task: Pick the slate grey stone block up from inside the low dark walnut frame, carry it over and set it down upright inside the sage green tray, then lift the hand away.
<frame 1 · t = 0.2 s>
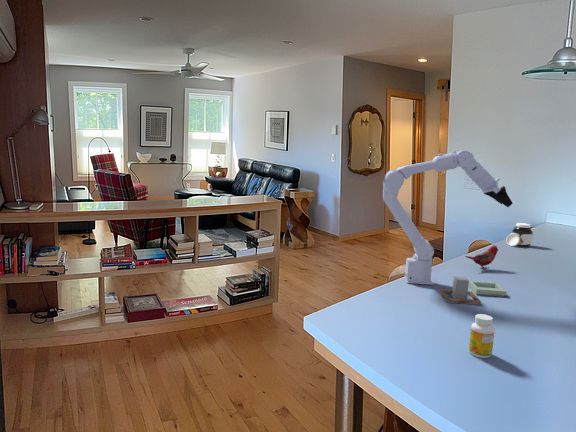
hand: (506, 203, 171), 31 cm above the table, tool tilted 45°, fingers open, 7 cm apart
sage tray: (486, 291, 170), on the table
decorative bird figurine: (480, 269, 200), on the table
spread jar: (518, 246, 252), on the table
stone block: (460, 288, 161), in the walnut frame
supplement bottle: (479, 354, 119), on the table
walnut frame: (459, 298, 161), on the table
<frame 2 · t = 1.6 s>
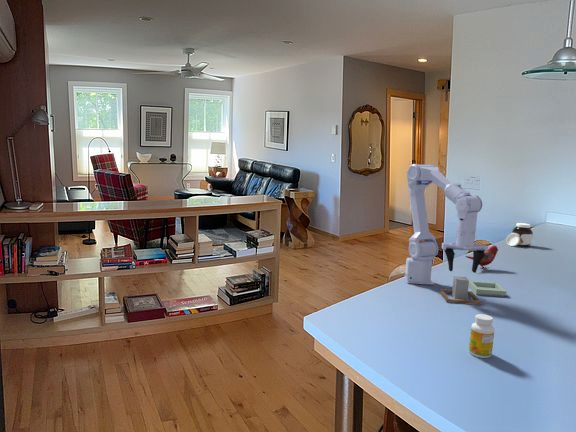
hand: (462, 271, 160), 9 cm above the table, tool pointing down, fingers open, 7 cm apart
nothing on the table moved.
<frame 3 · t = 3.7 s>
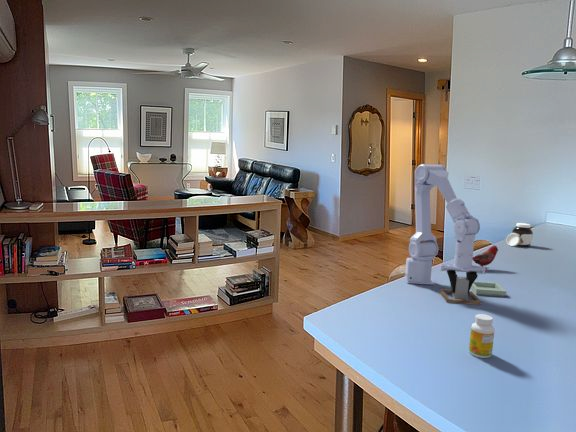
hand: (459, 292, 161), 2 cm above the table, tool pointing down, fingers closed on stone block, 4 cm apart
stone block: (460, 288, 161), in the walnut frame, touching gripper
everything else where it was.
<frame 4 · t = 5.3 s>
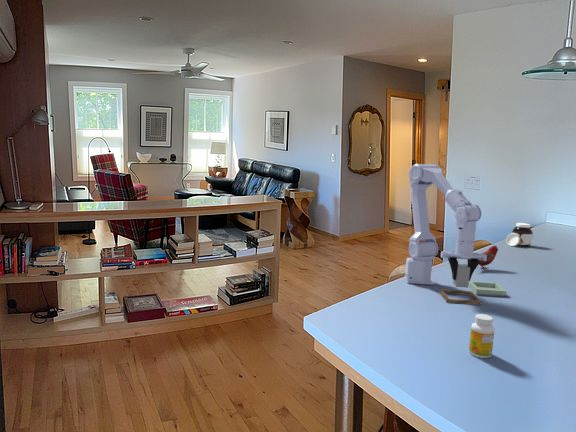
hand: (461, 279, 160), 6 cm above the table, tool pointing down, fingers closed on stone block, 4 cm apart
stone block: (461, 275, 160), point 8 cm above the table, touching gripper
everything else where it was.
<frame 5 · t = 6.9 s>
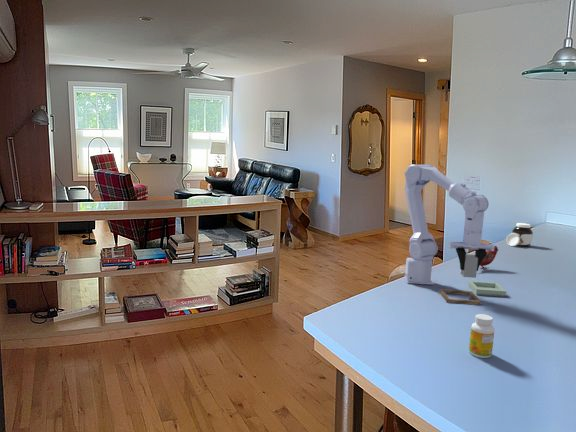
hand: (468, 269, 162), 9 cm above the table, tool pointing down, fingers closed on stone block, 4 cm apart
stone block: (469, 265, 162), point 11 cm above the table, touching gripper
everything else where it was.
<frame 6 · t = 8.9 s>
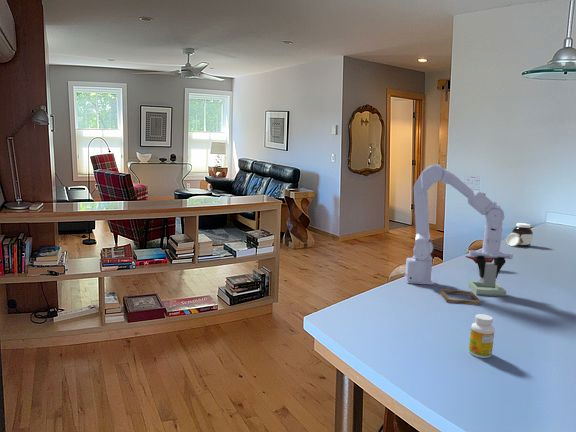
hand: (488, 277, 169), 5 cm above the table, tool pointing down, fingers closed on stone block, 4 cm apart
stone block: (488, 273, 169), point 7 cm above the table, touching gripper
everything else where it was.
when the fingers open (4 cm above the table, at t = 10.4 s): stone block drops 1 cm, resting on sage tray.
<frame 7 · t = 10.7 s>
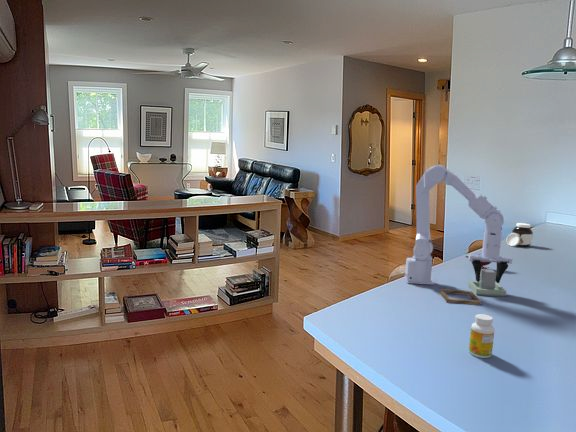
hand: (487, 281, 170), 4 cm above the table, tool pointing down, fingers open, 6 cm apart
stone block: (487, 280, 170), in the sage tray
everything else where it was.
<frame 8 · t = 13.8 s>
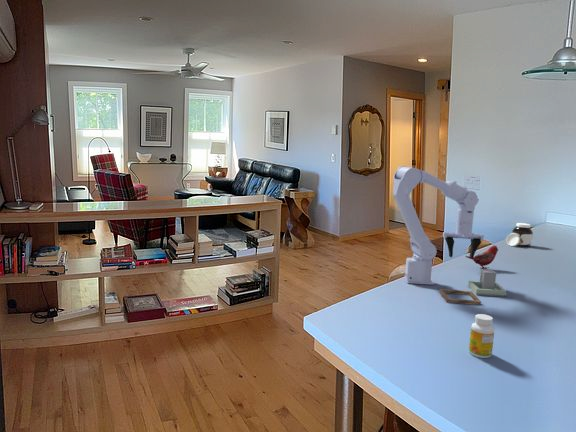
hand: (460, 257, 180), 9 cm above the table, tool pointing down, fingers open, 7 cm apart
nothing on the table moved.
at the end: stone block 0.0 cm off-centre on the sage tray, point 4.0 cm above the sage tray's base; stone block tilted 0°; the gripper is holding nothing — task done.
